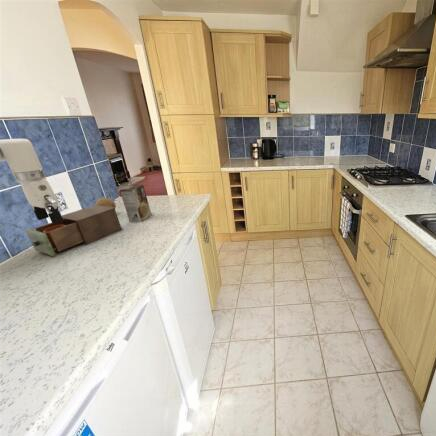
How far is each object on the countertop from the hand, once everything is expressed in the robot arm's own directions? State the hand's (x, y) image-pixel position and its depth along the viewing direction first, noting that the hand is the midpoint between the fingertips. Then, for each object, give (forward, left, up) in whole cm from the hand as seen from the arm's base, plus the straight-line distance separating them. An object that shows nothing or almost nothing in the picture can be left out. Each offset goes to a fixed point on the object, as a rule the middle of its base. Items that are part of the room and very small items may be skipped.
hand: (50, 220), depth 91 cm
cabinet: (0, +12, -12) cm, 17 cm away
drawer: (0, 0, -11) cm, 11 cm away
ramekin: (0, 0, -10) cm, 10 cm away
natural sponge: (-17, +28, -12) cm, 35 cm away
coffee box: (+2, +32, -12) cm, 35 cm away
